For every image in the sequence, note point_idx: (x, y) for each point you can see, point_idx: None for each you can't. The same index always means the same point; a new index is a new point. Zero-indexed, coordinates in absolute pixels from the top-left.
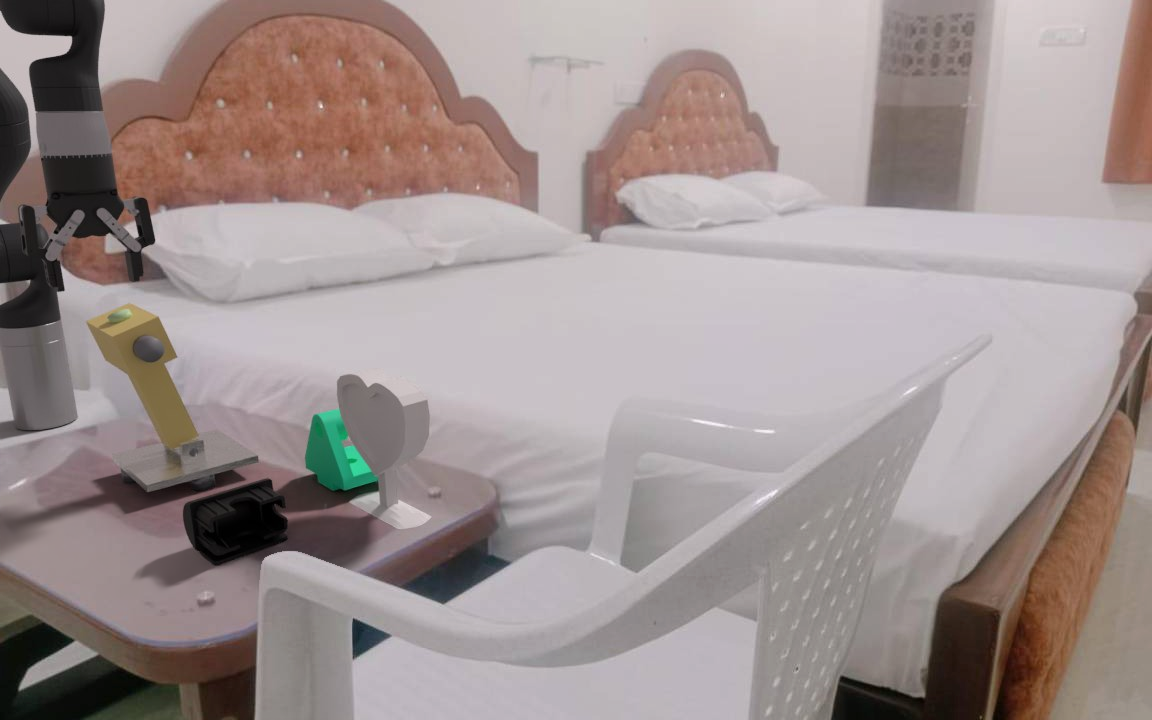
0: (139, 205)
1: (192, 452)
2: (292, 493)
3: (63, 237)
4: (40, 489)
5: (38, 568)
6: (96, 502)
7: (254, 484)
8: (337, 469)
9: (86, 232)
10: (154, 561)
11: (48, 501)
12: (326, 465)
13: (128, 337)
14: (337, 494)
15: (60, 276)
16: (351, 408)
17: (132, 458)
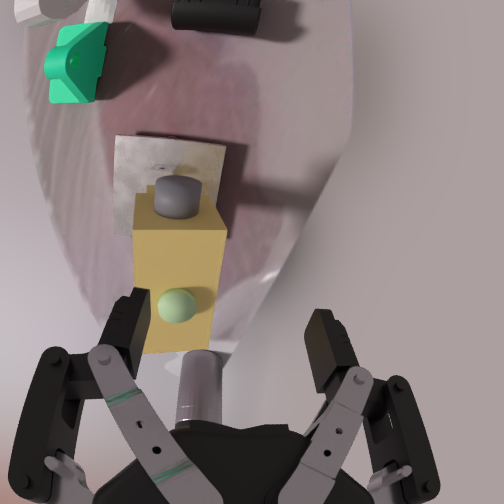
0: (36, 477)
1: (164, 168)
2: (128, 70)
3: (346, 421)
4: (266, 253)
5: (342, 109)
6: (251, 190)
7: (191, 2)
8: (98, 29)
9: (260, 440)
10: (283, 41)
11: (274, 225)
12: (94, 52)
13: (199, 223)
14: (107, 42)
15: (331, 332)
16: (57, 4)
17: None
